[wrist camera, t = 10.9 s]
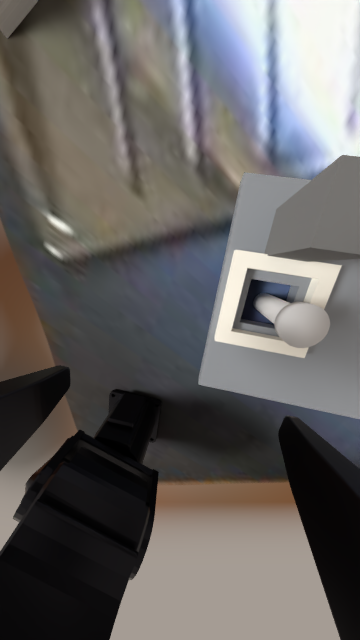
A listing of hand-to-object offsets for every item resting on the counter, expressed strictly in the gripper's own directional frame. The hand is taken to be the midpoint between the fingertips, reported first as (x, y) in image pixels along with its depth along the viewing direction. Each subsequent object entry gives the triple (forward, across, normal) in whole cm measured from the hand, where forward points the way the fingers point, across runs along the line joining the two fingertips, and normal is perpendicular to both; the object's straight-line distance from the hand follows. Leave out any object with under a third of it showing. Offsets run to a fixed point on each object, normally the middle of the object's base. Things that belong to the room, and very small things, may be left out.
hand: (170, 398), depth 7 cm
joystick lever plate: (+11, -7, -5) cm, 13 cm away
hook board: (+12, -10, -3) cm, 16 cm away
